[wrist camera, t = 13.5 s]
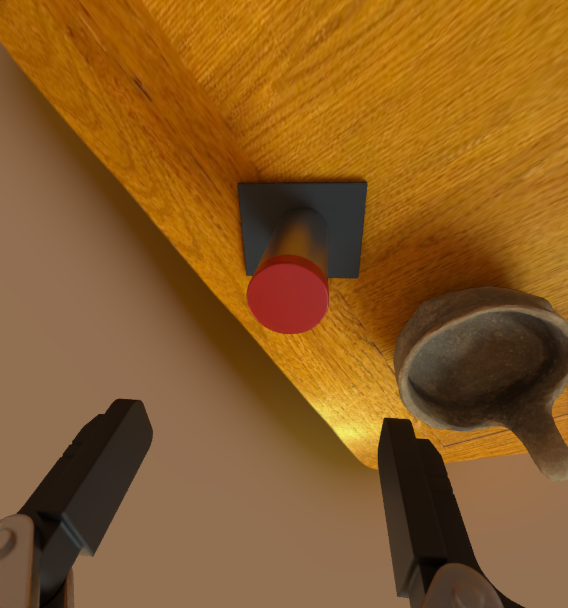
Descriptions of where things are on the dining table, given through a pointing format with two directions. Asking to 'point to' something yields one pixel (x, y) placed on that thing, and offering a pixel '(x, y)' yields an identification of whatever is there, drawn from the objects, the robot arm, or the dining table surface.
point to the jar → (292, 275)
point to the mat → (316, 196)
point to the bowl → (488, 367)
